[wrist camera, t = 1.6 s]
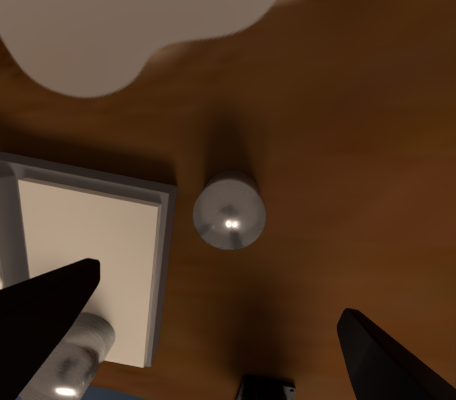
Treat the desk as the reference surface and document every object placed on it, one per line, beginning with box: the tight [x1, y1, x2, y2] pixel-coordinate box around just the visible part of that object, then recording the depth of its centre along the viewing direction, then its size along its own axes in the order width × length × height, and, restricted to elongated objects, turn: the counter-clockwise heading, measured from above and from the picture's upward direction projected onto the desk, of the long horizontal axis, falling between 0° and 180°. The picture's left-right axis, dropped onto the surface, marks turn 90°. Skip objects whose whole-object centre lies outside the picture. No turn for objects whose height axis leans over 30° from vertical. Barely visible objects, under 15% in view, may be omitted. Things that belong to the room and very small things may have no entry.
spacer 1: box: [19, 312, 116, 400], centre depth 18 cm, size 5×5×5 cm
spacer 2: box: [193, 169, 266, 250], centre depth 17 cm, size 5×5×5 cm
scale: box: [0, 152, 177, 368], centre depth 20 cm, size 20×16×5 cm
